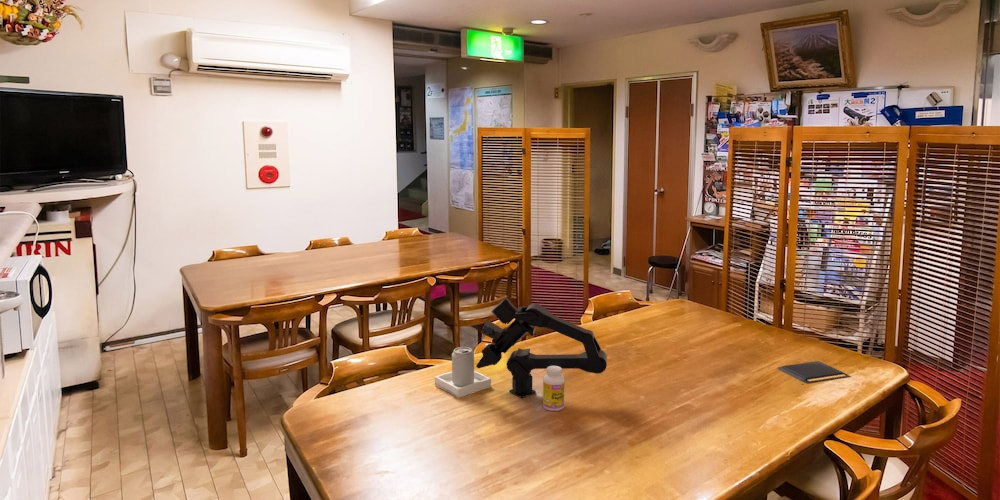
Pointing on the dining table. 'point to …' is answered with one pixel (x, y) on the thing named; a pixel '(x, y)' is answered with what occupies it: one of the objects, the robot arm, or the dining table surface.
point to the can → (462, 366)
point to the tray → (479, 384)
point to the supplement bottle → (553, 389)
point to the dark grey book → (813, 372)
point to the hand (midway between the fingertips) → (481, 362)
